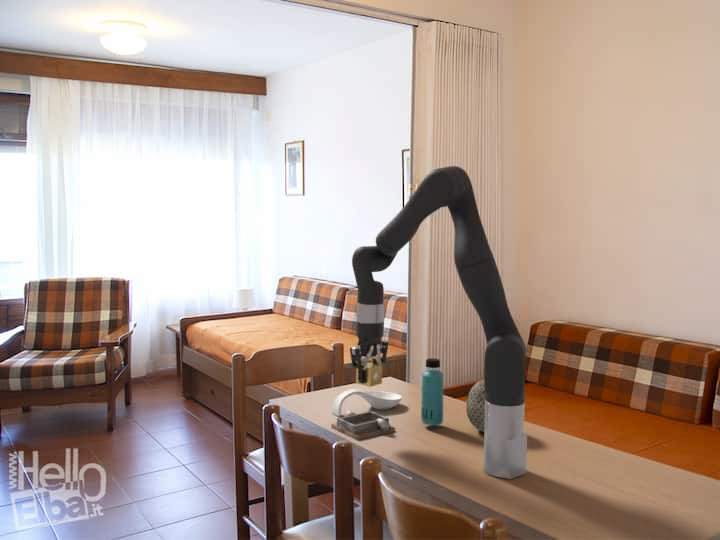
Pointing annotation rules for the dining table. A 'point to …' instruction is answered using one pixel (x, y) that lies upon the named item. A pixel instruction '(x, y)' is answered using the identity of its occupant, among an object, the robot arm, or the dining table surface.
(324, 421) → the dining table surface
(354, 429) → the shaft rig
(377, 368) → the yellow cube
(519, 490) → the dining table surface
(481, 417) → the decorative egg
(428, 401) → the beverage bottle
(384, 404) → the spoon rest
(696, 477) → the dining table surface
